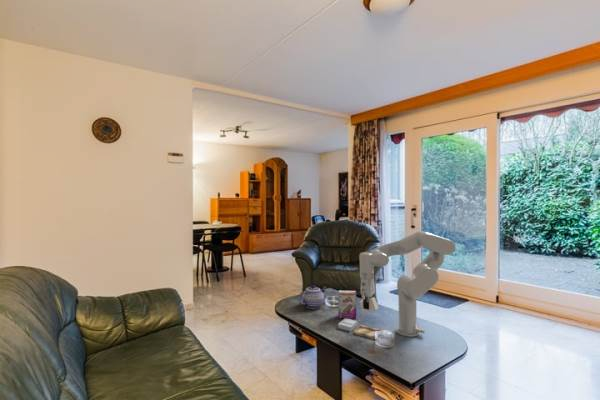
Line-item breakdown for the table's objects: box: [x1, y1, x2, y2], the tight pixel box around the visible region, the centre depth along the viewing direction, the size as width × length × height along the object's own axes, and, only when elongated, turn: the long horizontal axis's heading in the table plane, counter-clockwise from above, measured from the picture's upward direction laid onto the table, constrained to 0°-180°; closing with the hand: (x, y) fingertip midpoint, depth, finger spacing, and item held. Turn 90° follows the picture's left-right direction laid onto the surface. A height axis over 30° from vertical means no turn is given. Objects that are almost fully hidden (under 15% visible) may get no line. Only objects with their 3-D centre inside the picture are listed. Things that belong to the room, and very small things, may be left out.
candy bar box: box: [338, 290, 357, 320], centre depth 189 cm, size 11×5×16 cm, turn 84°
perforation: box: [336, 328, 350, 334], centre depth 170 cm, size 8×1×1 cm, turn 56°
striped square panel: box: [337, 318, 359, 332], centre depth 176 cm, size 8×10×2 cm
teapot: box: [297, 284, 327, 310], centre depth 208 cm, size 25×15×15 cm, turn 124°
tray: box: [352, 324, 383, 340], centre depth 167 cm, size 13×9×2 cm
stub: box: [359, 296, 379, 313], centre depth 166 cm, size 8×4×6 cm, turn 55°
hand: (367, 307), depth 167 cm, fingers closed on stub, 3 cm apart
